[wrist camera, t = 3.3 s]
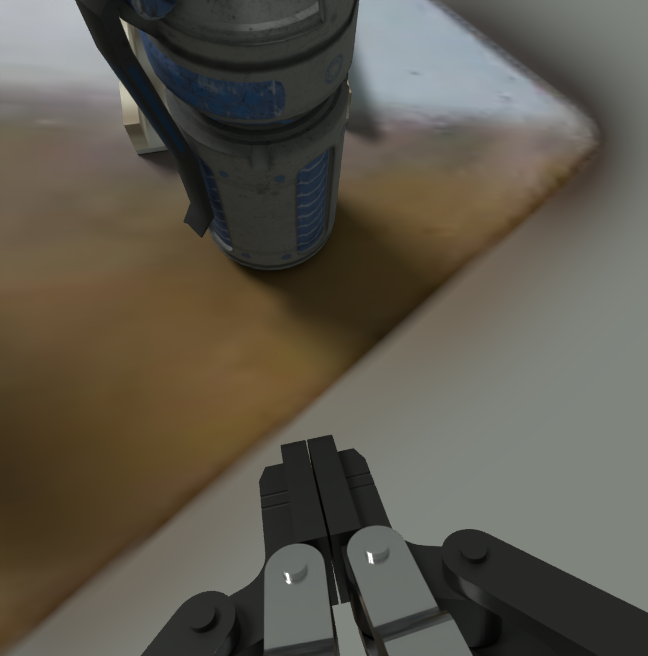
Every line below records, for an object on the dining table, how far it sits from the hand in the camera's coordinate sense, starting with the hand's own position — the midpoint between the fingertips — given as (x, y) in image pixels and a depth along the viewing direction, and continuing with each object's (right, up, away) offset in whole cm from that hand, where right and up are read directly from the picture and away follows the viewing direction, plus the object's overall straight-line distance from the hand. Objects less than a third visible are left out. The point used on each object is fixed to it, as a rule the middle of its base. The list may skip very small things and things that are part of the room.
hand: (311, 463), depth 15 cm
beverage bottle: (-4, +12, +27) cm, 30 cm away
